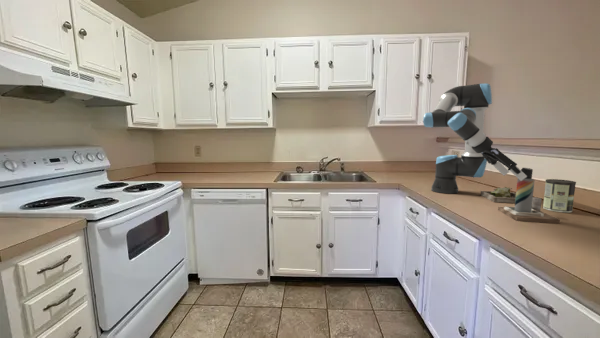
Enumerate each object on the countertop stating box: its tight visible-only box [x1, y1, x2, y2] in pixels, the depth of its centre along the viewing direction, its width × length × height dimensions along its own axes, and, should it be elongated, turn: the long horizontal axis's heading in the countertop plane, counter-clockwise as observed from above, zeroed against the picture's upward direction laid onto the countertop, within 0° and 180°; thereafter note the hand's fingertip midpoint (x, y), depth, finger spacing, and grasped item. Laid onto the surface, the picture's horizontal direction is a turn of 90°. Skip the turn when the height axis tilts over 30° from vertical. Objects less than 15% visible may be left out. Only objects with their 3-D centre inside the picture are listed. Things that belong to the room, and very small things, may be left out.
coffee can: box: [542, 178, 577, 214], centre depth 124 cm, size 10×10×14 cm
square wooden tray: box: [480, 190, 516, 204], centre depth 145 cm, size 17×17×2 cm
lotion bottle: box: [514, 167, 535, 213], centre depth 114 cm, size 6×6×20 cm
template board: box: [497, 196, 561, 224], centre depth 115 cm, size 16×15×8 cm
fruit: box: [491, 186, 513, 198], centre depth 147 cm, size 9×9×8 cm
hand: (514, 175), depth 114 cm, fingers open, 13 cm apart
